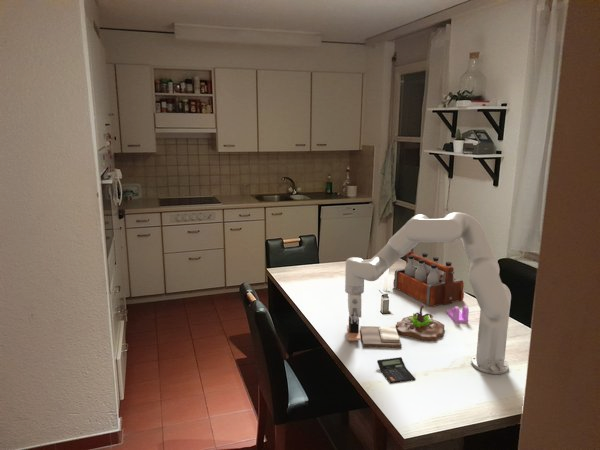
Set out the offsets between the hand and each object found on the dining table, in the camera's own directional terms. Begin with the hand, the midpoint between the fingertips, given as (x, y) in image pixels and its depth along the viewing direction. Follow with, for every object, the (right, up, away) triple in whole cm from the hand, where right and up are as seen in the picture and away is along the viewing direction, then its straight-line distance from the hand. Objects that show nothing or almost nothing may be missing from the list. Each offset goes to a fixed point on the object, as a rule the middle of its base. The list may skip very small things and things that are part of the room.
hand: (353, 327), depth 189 cm
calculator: (+12, -11, -26) cm, 31 cm away
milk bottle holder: (+44, +6, +50) cm, 67 cm away
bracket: (+50, 0, +22) cm, 54 cm away
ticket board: (+11, -5, 0) cm, 12 cm away
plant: (+30, -3, +8) cm, 31 cm away
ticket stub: (0, -3, +1) cm, 3 cm away
